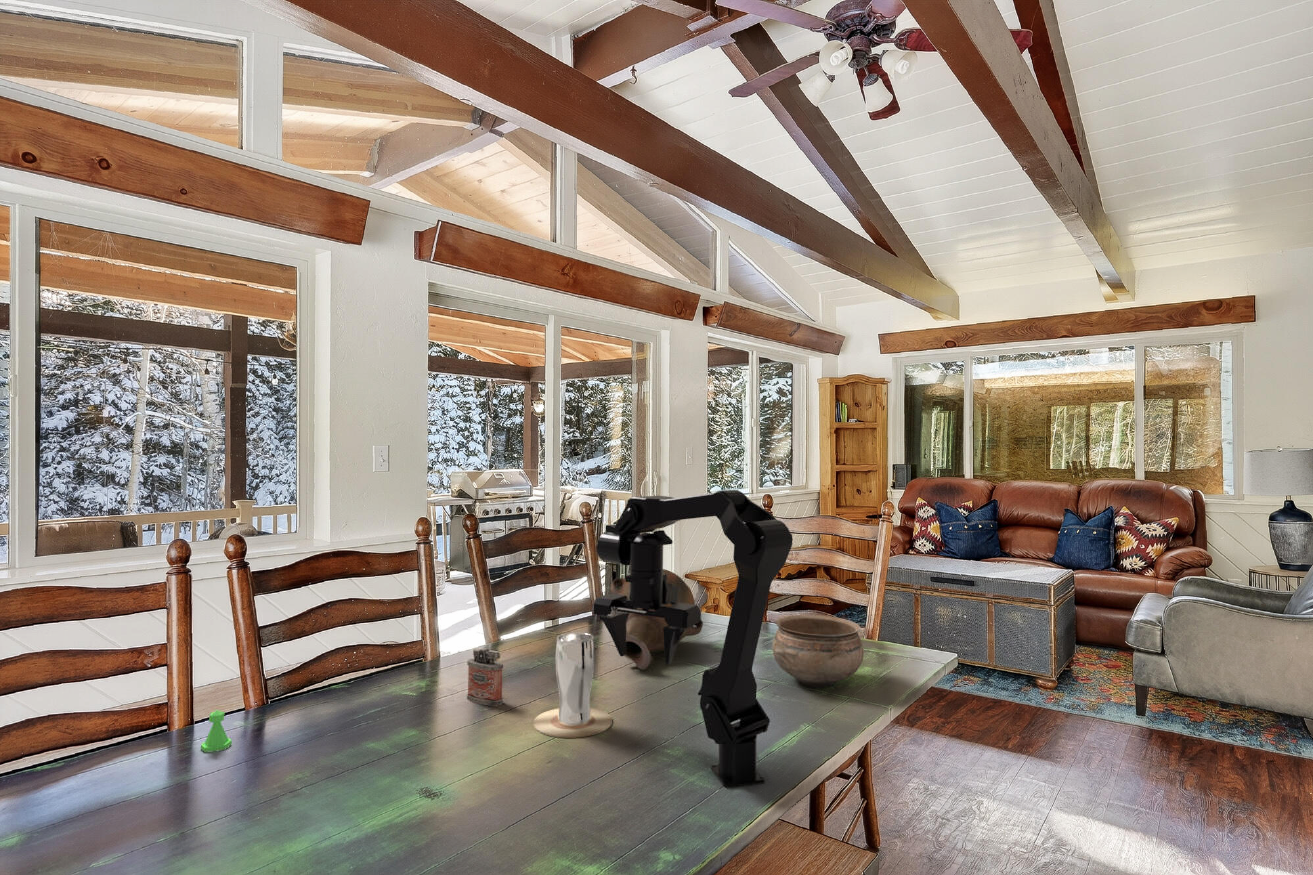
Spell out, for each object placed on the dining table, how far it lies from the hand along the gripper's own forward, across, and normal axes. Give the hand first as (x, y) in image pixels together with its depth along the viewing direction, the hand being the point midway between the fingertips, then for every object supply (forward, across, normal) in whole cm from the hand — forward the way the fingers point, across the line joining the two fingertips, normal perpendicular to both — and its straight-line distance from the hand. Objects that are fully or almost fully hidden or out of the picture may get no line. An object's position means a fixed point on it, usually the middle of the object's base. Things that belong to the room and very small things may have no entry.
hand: (645, 659), depth 125 cm
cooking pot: (+13, -16, -44) cm, 49 cm away
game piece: (+14, +57, +40) cm, 71 cm away
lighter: (+13, +35, +1) cm, 38 cm away
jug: (+13, +24, -43) cm, 51 cm away
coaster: (+13, +14, +1) cm, 19 cm away
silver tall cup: (+13, +14, +1) cm, 19 cm away
